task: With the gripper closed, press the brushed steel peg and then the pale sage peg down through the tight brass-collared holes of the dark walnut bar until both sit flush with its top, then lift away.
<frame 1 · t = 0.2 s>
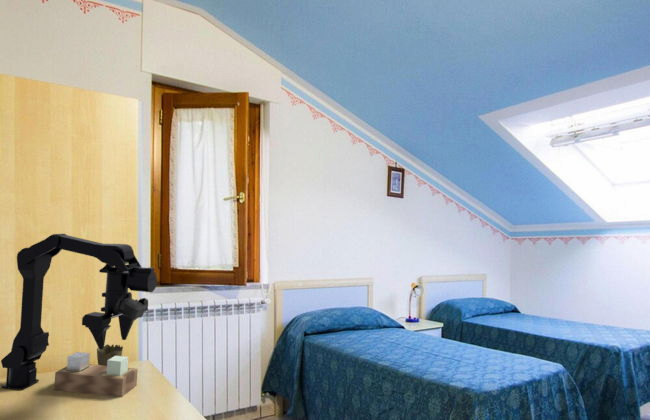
hand: (112, 344, 123), 14 cm above the table, tool pointing down, fingers open, 9 cm apart
steel peg: (78, 363, 127), point 7 cm above the table, slide at 0.0 cm
walnut bar: (96, 387, 126), on the table
cup: (108, 373, 138), on the table
sage peg: (117, 366, 126), point 7 cm above the table, slide at 0.0 cm
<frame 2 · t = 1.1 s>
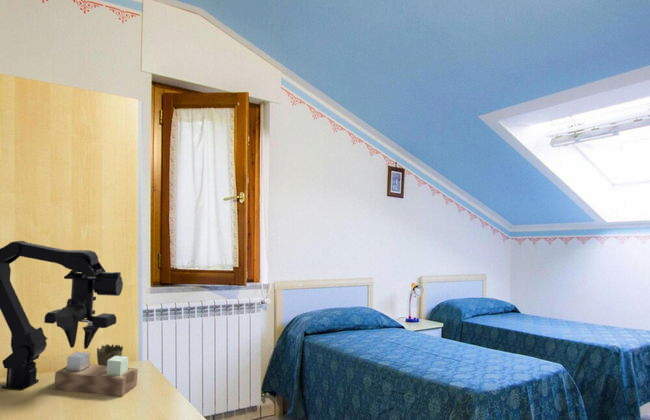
hand: (79, 348, 127), 11 cm above the table, tool pointing down, fingers open, 4 cm apart
nothing on the table moved.
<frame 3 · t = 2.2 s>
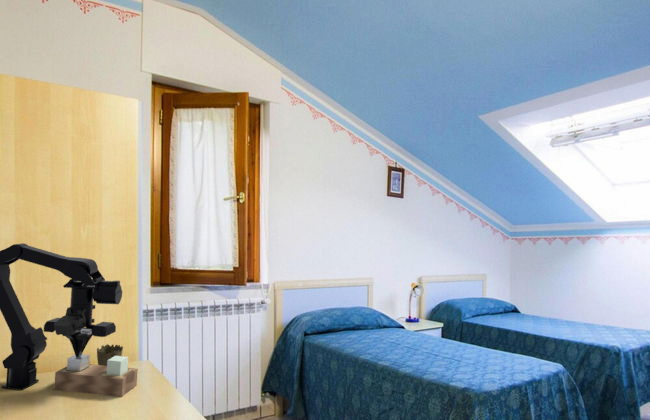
hand: (78, 356, 127), 8 cm above the table, tool pointing down, fingers closed, pressing on steel peg
steel peg: (78, 364, 127), point 6 cm above the table, slide at 0.5 cm, touching gripper
everything else where it was.
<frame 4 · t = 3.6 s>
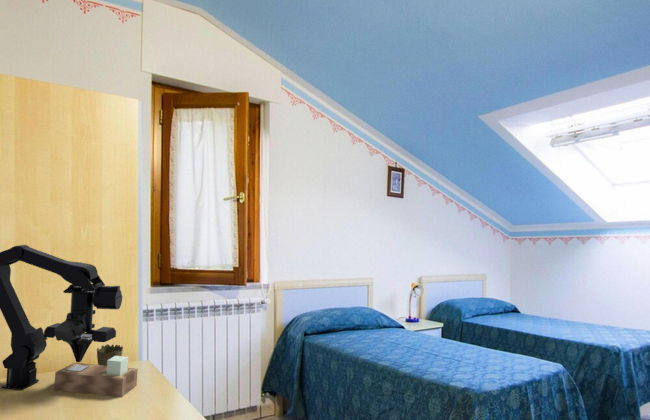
hand: (78, 361, 127), 7 cm above the table, tool pointing down, fingers closed
steel peg: (77, 376, 127), point 3 cm above the table, slide at 3.8 cm
everything else where it was.
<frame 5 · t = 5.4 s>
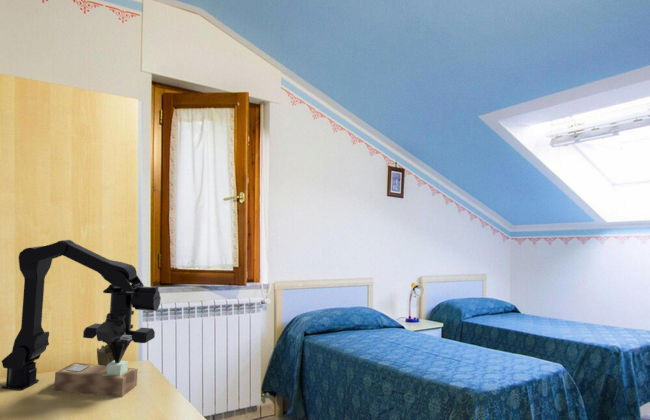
hand: (117, 362, 126), 8 cm above the table, tool pointing down, fingers closed, pressing on sage peg
sage peg: (117, 371, 126), point 5 cm above the table, slide at 1.2 cm, touching gripper
everything else where it was.
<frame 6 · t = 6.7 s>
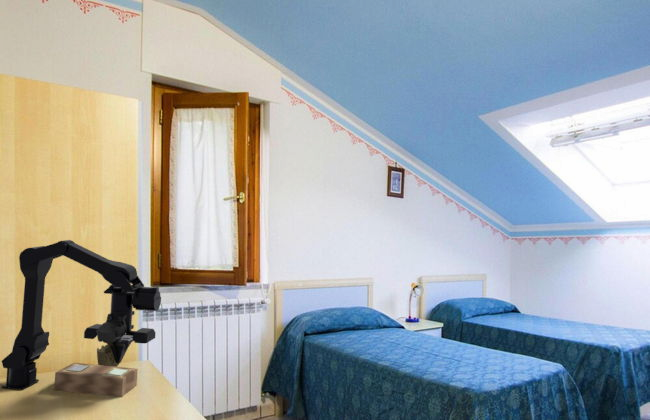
hand: (118, 363, 126), 8 cm above the table, tool pointing down, fingers closed
sage peg: (116, 380, 126), point 3 cm above the table, slide at 3.8 cm
everything else where it was.
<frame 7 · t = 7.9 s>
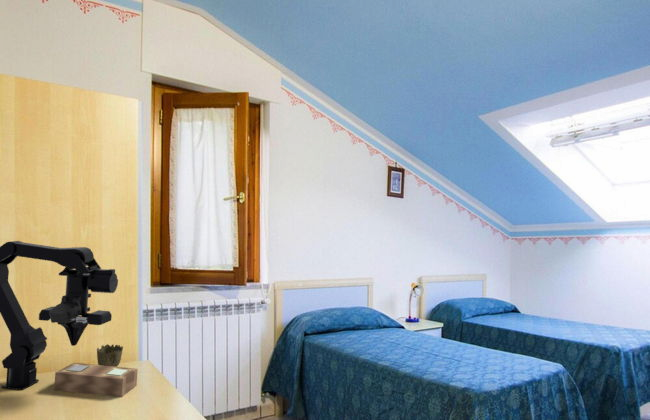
hand: (73, 345, 126), 12 cm above the table, tool pointing down, fingers closed
nothing on the table moved.
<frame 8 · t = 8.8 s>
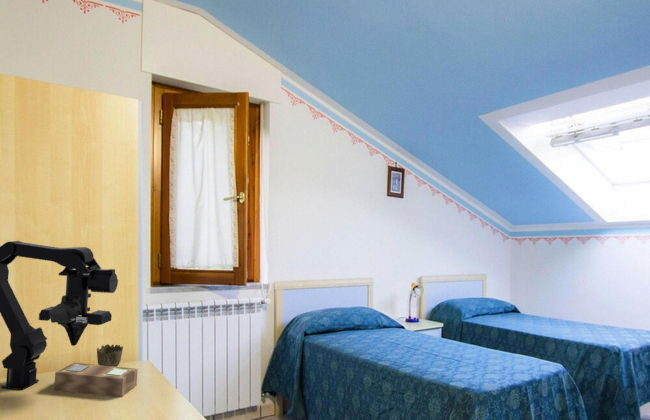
hand: (73, 345, 126), 12 cm above the table, tool pointing down, fingers closed
nothing on the table moved.
at the end: steel peg slide at 3.8 cm; sage peg slide at 3.8 cm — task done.
